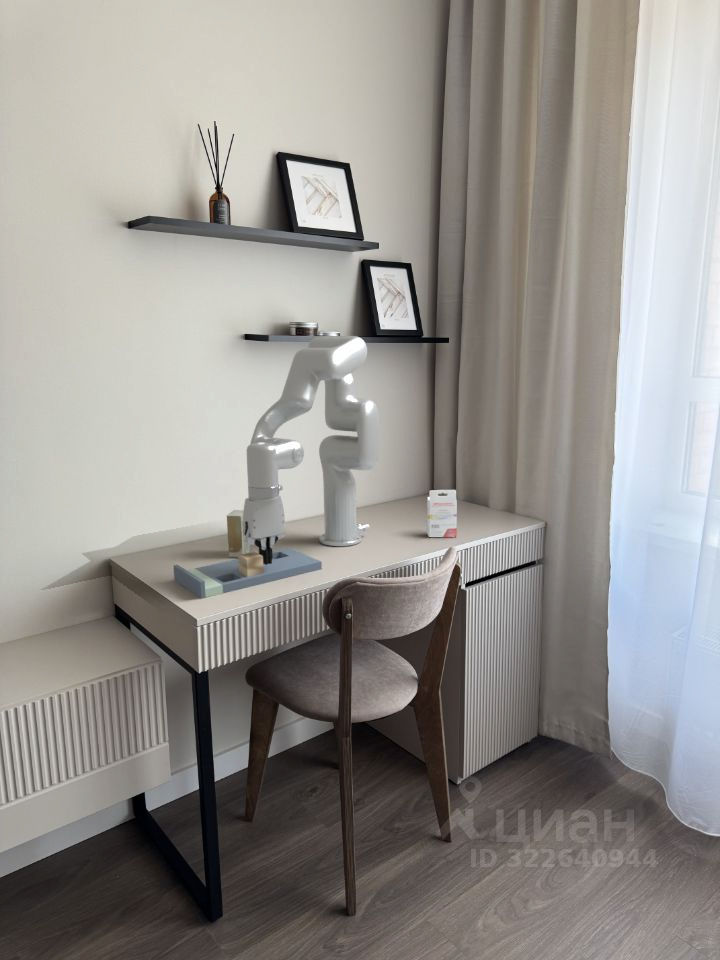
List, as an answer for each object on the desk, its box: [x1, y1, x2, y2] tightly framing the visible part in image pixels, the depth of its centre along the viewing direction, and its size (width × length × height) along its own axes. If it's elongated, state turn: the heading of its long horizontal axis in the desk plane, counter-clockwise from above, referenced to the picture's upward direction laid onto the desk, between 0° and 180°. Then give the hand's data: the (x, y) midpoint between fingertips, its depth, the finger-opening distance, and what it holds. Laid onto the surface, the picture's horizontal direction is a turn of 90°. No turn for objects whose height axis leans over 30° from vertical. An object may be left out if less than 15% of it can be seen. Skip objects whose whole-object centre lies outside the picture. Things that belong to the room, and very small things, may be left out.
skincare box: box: [226, 509, 251, 559], centre depth 199 cm, size 6×4×12 cm
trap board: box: [173, 547, 323, 599], centre depth 183 cm, size 34×16×4 cm, turn 127°
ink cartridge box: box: [426, 489, 458, 538], centre depth 215 cm, size 9×5×15 cm, turn 91°
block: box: [237, 551, 264, 577], centre depth 178 cm, size 4×4×4 cm
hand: (266, 562), depth 181 cm, fingers closed
